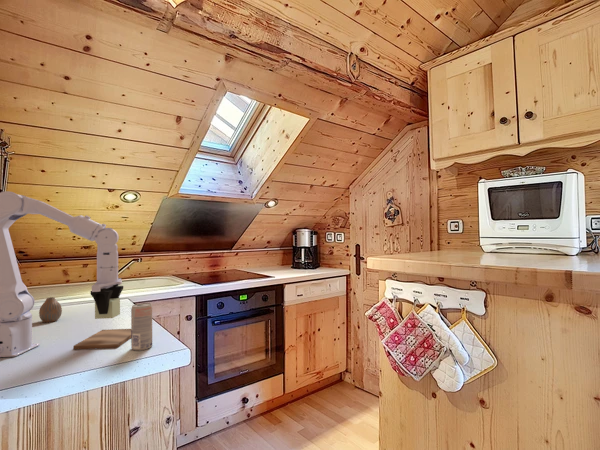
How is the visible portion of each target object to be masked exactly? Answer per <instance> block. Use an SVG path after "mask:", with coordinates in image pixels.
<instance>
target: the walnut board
mask: <svg viewBox="0 0 600 450" xmlns="http://www.w3.org/2000/svg"><path fill="white" fill-rule="evenodd" d="M130 339H131V328H116V329H113V328H111V329H101V330H100V331H97V332H96V333H94V334H92V335H90V336H88V337H87V338H85V339H83V340H81V341H80V342H78V343H76V344H74V345H73V348H72V349H73V350H92V349H95V348H97V349H116V348H117V349H118V348H120V347H121V346H122V345H123V344H125V343H127V342H128V341H129V340H130ZM95 350H96V349H95Z"/></svg>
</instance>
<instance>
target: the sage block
mask: <svg viewBox="0 0 600 450" xmlns="http://www.w3.org/2000/svg"><path fill="white" fill-rule="evenodd" d="M120 315H121V298H120V297H119V298H112V299H110V300H109V308H108V313H107V314H99V312H98V309H97V305H96V302H95V301H94V319H95V320H98V319H99V320H101V319H114V318H115V317H118V316H120Z"/></svg>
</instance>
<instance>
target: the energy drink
mask: <svg viewBox="0 0 600 450" xmlns="http://www.w3.org/2000/svg"><path fill="white" fill-rule="evenodd" d="M130 309H131V311H130V312H131V315H130V317H131V318H130V319H131V320H130V321H131V323H130V325H131V327H130V329H131V341H130V342H131V347H130V348H131V350H132V351H134V350H135V352H140V351H139V350H141V351H146V350H149V349H151V348H152V347H153V306H152V303H150V302H149V303H148V302H143V303H136V304H132V305H131V308H130ZM150 347H151V348H150ZM148 348H149V349H148ZM145 349H146V350H145Z"/></svg>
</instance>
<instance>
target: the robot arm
mask: <svg viewBox="0 0 600 450" xmlns="http://www.w3.org/2000/svg"><path fill="white" fill-rule="evenodd" d="M27 215H41V216H44V217H46V218H48V219H51V220H53V221H55V222H57V223H61V224H63V225H65V226H68V229H69V232H70V233H72V234H75V235H76V236H78V237H81V238H83V239H86V240H87V241H91V242H94V241H95V243H96V244H97V247H96V248H97V250H96V251H97V252H96V282H95V283H94V284H92V285H91V290H90V292H89V293H90V296H91V297H92V299H93V300H94V303H95V302H96V305H97V309H98V312H99V314H107V313H108V308H109V300H110V299H112V298H120V295H121V294H122V292H123V290H124V285H122V284H123V281H122V278H119V251H118V249H119V246H118V242H119V239H120V238H119V237H120V236H119V233H118V232H117V230H115V229H114V228H111V227H107V224H105V223H99V222H97V221H95V220H93V219H92V218H91V217H90V216H89V215H85V216H84V215H82V214H80V215H76V216H73V215H71V214H69V213H67V212H65V211H62V210H60V209H58V208H57V207H55V206H53V205H51V204H49V203H47V202H45V201H42V200H39V199H35V198H32V197H28V196H27V195H25V194H24V195H23V194H17V193H15V192H13V191H9V190H8V191H6V190H5V191H1V192H0V358H9V357H11V358H12V357H13V358H14V357H17V356H19V355H21V354H24V353H26V352H28V351H30V350H32V349H34V348H36V347H37V348H38V346H40V345H41V344H40V343H39V342H38V343H33V314H32V313H31V310H32V309H33V308H34V306H35V303H36V302H35V298H34V296H33V295H32V293H30V292H29V291H28V287H27V286H26V285H25V283H24V282H23V280H22V276H21V272H20V268H19V265H18V261H17V257H16V253H15V250H14V245H13V241H12V238H11V234H10V231H9V230H10V227H11V226H12V225H13V224H14V223H15V222H16V221H18V220H19V219H21V218H23V217H25V216H27Z"/></svg>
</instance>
